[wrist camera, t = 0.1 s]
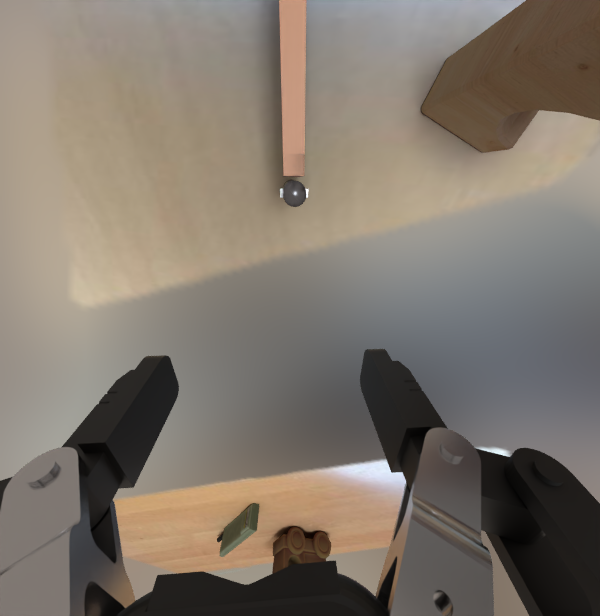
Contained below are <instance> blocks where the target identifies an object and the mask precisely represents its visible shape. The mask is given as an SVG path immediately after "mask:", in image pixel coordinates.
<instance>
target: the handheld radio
mask: <svg viewBox="0 0 600 616" xmlns="http://www.w3.org/2000/svg"><path fill="white" fill-rule="evenodd" d="M258 513H259V504H256V503H253V504H251V505H250V506H249V507H248V508H247V509H246V510H245V511H243V512H242V513H241V514H240V515H239V516H238V517H237V518H235V519H234V520H233V521H232V522H231V523H230V524H229V525H228V526H226V527H225V529H224V533H223V534H222V535H221V536H219V537H218V538H217V542H220V541H221V540H222V543H221V548H220V556H221V557H224V556H225V555H226V554H228V553H229V552H230V551H231V550H233V549H234V548H235V547H237V546H238V545H239V544H240V543H242V542H243V541H244V540H245V539H247V538H248V537H249V536H250V535H252V534H253V533H254V532H255V531H257V523H258Z"/></svg>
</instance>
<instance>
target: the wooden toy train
mask: <svg viewBox="0 0 600 616" xmlns="http://www.w3.org/2000/svg"><path fill="white" fill-rule="evenodd" d="M330 550H331V542H330V540H329V538H328V536H327V535H326V534H325V533H324V532H322V531H318V532H316V533H315V535H314V538H313V539H309V538H305V536H304V534H303V532H302V530H301V529H300V528H298V527H291V528H290V529H289V531H288V533H287V535H285V534H283V535H282V536H281V537H280V538H278V539H277V540H276V541H275V542H274V543H273V556H274V563H273V573H275V572H277V571H280V570H282V569H284V568H286V567H288V566H290V565H292V564H300V563H312V562H325V561H326V558H327V557H328V556H329V554H330Z"/></svg>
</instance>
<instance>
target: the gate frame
mask: <svg viewBox="0 0 600 616" xmlns="http://www.w3.org/2000/svg"><path fill="white" fill-rule="evenodd" d="M280 198H284V200H285V202H286V203H287V204H288V205H290V206H292V207H297V206H300V205H301V204H303V202H304V201H305V199H306V198H308V188H305V187H304V185H303V184H302V183H300V182H298V181H294V180H289V181H287V182H286V183H285V184H284V187H283V188H280Z"/></svg>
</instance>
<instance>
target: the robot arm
mask: <svg viewBox="0 0 600 616" xmlns="http://www.w3.org/2000/svg"><path fill="white" fill-rule="evenodd" d="M360 384H361V390H362V393H363V396H364V398H365V401H366V404H367V407H368V409H369V412H370V415H371V418H372V421H373V423H374V426H375V429H376V431H377V434H378V437H379V439H380V442H381V445H382V448H383V451H384V453H385V456H386V459H387V462H388V464H389V467H390V470H391V472H392V473H393V472H403V474H404V477H405V479H406V484H405V488H404V492H403V496H402V500H401V504H400V508H399V512H398V516H397V520H396V524H395V528H394V532H393V536H392V540H391V543H390V547H389V550H388V553H387V557H386V560H385V563H384V566H383V570H382V573H381V577H380V581H379V585H378V588H377V592H376V596H374V595H373V594H372V593H371V592H370V591H369V590H368V589H366V588H365V587H364V586H362V585H361V584H359V583H358V582H356V581H354V580H353V579H351V578H349V577H347V576H345V575H342V574H338V573H337V566H336V561H325V562H312V563H300V564H292V565H290V566H288V567H286V568H284V569H282V570H280V571H277V572H275V573H273V574H271V575H269V576H267V577H265V578H263V579H260V580H258V581H256V582H254V583H252V584H249V585H244V584H240V583H237V582H233V581H230V580H227V579H224V578H221V577H218V576H214V575H212V574H209V573H206V572H191V573H179V574H167V575H158V576H157V578H156V581H155V585H154V588H153V591H152V592H150V593H148V594H146V595H145V596H143V597H141V598H140V599H138V600H136V601H135V597H134V593H133V589H132V586H131V583H130V580H129V578H128V576H127V573H126V571H125V567H124V563H123V557H122V550H121V543H120V537H119V530H118V523H117V516H116V510H115V504H114V501H113V498H114V496H115V494H116V492H117V490H118V488H130V487H131V488H132V487H134V486H135V483H136V481H137V479H138V477H139V475H140V473H141V471H142V469H143V467H144V465H145V463H146V461H147V459H148V457H149V455H150V453H151V451H152V448H153V446H154V444H155V442H156V440H157V438H158V436H159V434H160V432H161V430H162V428H163V426H164V424H165V422H166V420H167V417H168V415H169V413H170V411H171V409H172V407H173V405H174V403H175V401H176V399H177V396H178V391H179V386H178V381H177V378H176V375H175V372H174V369H173V366H172V363H171V360H170V358H169V356H147V357H145V358H144V359H143V360H142V361H141V362H140V364H139V365H138V366H137V368H136V369H135V370H130V371H129V372H128V373H126V374H125V375H123V376H122V377H121V378H120V379H118V380H117V381H116V382H115V383H114V385H113V386H112V387H111V388H110V389H109V391H108V392H107V394H105V395H104V397H103V398H102V399H101V400H100V402H99V404H97V405H96V406H95V407H94V409H93V410H92V411H91V412H90V414H89V415H88V416H87V417H86V418H85V420H84V421H83V422H82V423H81V425H80V426H79V427H78V428H77V429H76V431H75V432H74V433H73V434H72V435H71V437H70V438H69V439H68V440H67V442H66V443H65V444H64V445H63V446H62V447H61V448H57V449H53V450H51V451H48V452H46V453H44V454H42V455H40V456H38V457H36V458H35V459H33V460H32V461H30V462H29V463H28V464H26V465H25V466H24V467H23V468H21V469H20V470H19V472H17V473H16V474H15V476H14V477H11V478H8V479H5V480H2V481H0V616H494V601H493V600H494V597H493V567H492V559H491V555H490V552H489V550H488V549H487V548H486V547H485V546H483V544H482V540H481V530H483V531H485V532H486V534H487V536H488V538H489V539H490V541H491V543H492V545H493V547H494V549H495V551H496V553H497V554H498V556H499V559H500V560H501V562H502V564H503V566H504V568H505V570H506V572H507V574H508V576H509V578H510V580H511V581H512V583H513V585H514V587H515V589H516V591H517V593H518V595H519V597H520V599H521V601H522V602H523V604H524V606H525V608H526V610H527V612H528V614H529V616H600V503H599V502H598V501H597V500H596V499H595V498H594V497H593V496H592V495H591V494H590V493H589V492H588V490H587V489H586V488H585V487H584V486H583V485H582V484H581V483H580V482H579V481H578V479H576V477H575V476H574V475H573V474H572V473H571V472H570V471H569V470H568V469H567V468H566V467H564V466H563V465H562V464H561V463H559V462H558V461H557V460H555V459H553V458H552V457H550V456H548V455H546V454H545V453H542V452H540V451H537V450H534V449H529V448H520V449H517V450H516V451H515V452H514V453H513V454H512V455H511V457H507V456H503V455H499V454H495V453H491V452H487V451H483V450H479V449H476V448H474V446H473V445H472V444H471V443H470V442H469V441H468V440H467V439H466V438H464V437H463V436H462V435H460V434H459V433H457V432H455V431H453V430H450V429H448V428H447V427H446V425H445V424H444V422H443V421H442V419H441V418H440V416H439V415H438V413H437V412H436V410H435V409H434V407H433V406H432V404H431V403H430V401H429V399H428V398H427V396H426V395H425V393H424V392H423V391H422V390H421V387H420V386H419V384H418V383H417V382H416V380H415V378H414V376H413V375H412V374H411V372H410V370H409V369H408V368H406V367H405V366H404V365H403V364H401V363H400V362H399V361H392V360H391V358H390V356H389V355H388V353H387V351H386V350H385V349H367V350H366V351H365V353H364V358H363V364H362V369H361V375H360Z"/></svg>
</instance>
